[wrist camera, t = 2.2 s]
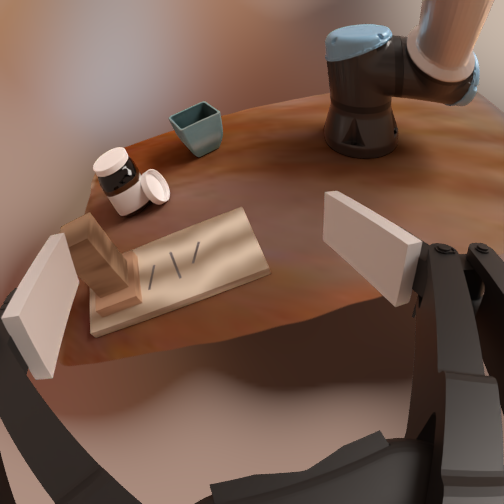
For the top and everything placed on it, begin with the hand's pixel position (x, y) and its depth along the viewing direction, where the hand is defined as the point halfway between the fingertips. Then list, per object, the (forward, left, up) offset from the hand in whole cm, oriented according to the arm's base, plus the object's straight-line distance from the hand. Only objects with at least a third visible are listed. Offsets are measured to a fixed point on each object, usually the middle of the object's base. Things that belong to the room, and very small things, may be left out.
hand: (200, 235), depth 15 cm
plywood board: (-21, -10, -26) cm, 35 cm away
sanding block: (-21, -18, -25) cm, 37 cm away
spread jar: (-41, -13, -26) cm, 50 cm away
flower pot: (-51, +2, -26) cm, 57 cm away
